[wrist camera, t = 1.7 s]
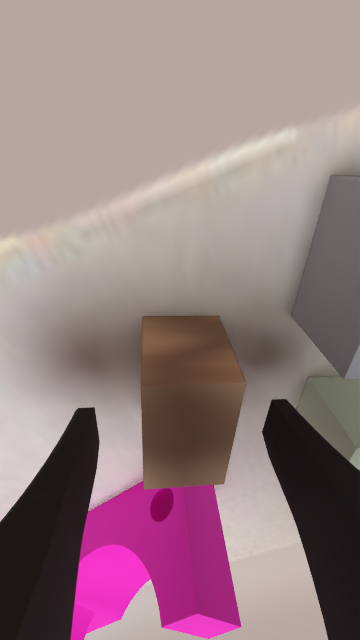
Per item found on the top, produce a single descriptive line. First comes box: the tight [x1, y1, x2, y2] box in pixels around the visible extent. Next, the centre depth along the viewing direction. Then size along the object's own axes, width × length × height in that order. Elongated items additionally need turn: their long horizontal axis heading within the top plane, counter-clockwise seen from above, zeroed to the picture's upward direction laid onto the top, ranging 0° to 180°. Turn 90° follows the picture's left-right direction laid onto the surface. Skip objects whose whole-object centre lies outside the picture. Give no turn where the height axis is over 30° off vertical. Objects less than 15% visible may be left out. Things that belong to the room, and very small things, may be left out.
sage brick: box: [297, 376, 360, 470], centre depth 16 cm, size 4×6×4 cm, turn 177°
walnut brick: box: [141, 316, 246, 490], centre depth 13 cm, size 4×6×4 cm, turn 177°
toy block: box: [71, 481, 241, 640], centre depth 20 cm, size 15×6×8 cm, turn 128°
